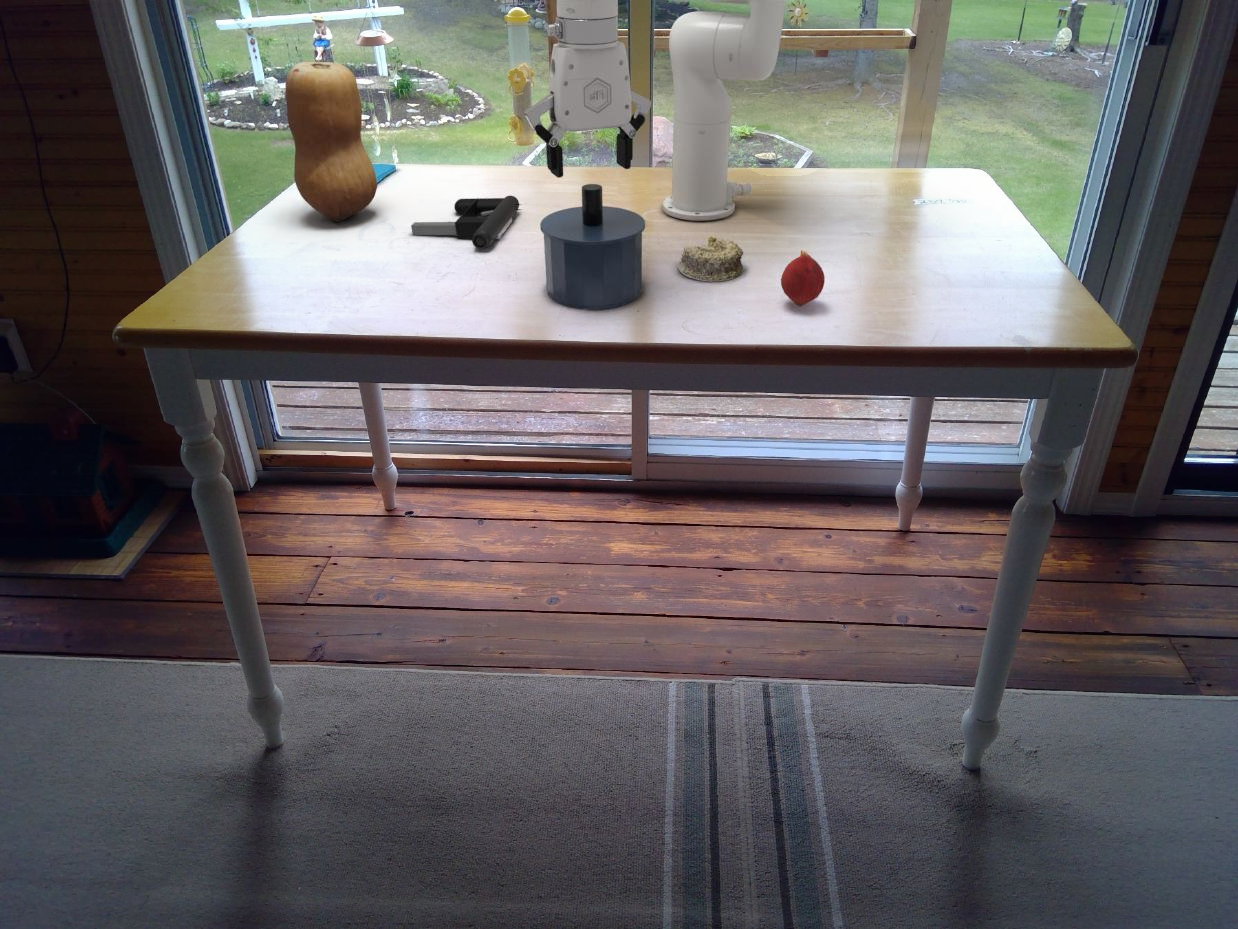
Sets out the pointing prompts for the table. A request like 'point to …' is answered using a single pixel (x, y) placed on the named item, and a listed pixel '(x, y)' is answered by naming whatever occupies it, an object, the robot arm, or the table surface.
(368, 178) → the butternut squash
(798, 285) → the onion
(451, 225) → the door handle
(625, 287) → the pot
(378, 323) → the table surface
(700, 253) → the cake
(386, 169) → the sponge
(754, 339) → the table surface
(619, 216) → the pot lid
